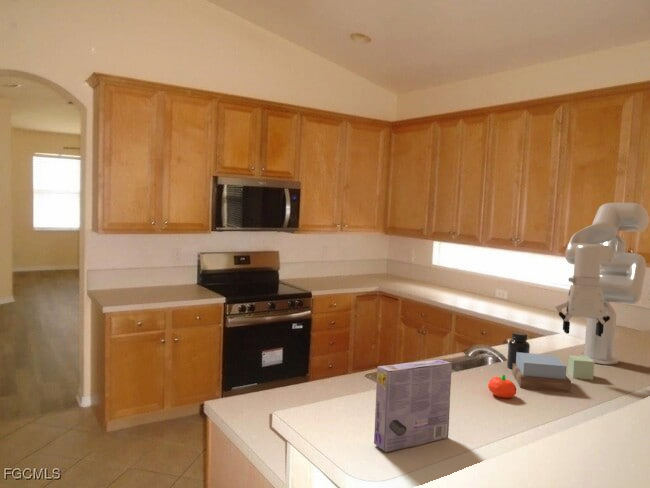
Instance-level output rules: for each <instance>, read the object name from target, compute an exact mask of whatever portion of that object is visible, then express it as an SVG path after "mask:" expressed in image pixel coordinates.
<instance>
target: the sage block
mask: <svg viewBox="0 0 650 488" xmlns="http://www.w3.org/2000/svg"><path fill="white" fill-rule="evenodd" d="M594 370H595V363H594V361H593V360H591V359H590V358H589V357H585V356H579V355H569V354H568V363H567V373H568V374H569V375H570V377H571V378H572V377H573V378H572V379H577V378H579V380H580V379H581V380H588V379H590V380H589V381H594V375H595V374H594Z"/></svg>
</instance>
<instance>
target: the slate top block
mask: <svg viewBox="0 0 650 488" xmlns="http://www.w3.org/2000/svg"><path fill="white" fill-rule="evenodd" d="M516 365H517V367H518V368H519V370H520V371H521V373H522V374H523V376H533V377H544V378H555V379H566V376H567V368H568V365H566V364H565V363H564V362H563V361H562V360H561V359H560V358H559V357H558V356H557V355H553V354H543V353H541V354H539V353H532V352H531V353H530V352H529V353H520V352H517V353H516Z"/></svg>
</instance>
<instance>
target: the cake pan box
mask: <svg viewBox="0 0 650 488" xmlns="http://www.w3.org/2000/svg"><path fill="white" fill-rule="evenodd" d="M452 366H453V365H452V362H450V361H447V360H442V359H431V360H425V361H415V362H406V363H405V362H403V363H397V364H396V363H395V364H388V365H379V366H377V367H376V388H375V389H376V390H375V410H374V411H375V413H374V416H375V417H374V433H373V434H374V437H373V443H374V445H375V446H377V447H378V448H379V449H380V450H381V451H383V452H384V453H385V454H386V453H390V452H393V451H398V450H402V449H406V448H414V447H418V446H422V445H426V444H428V443H431V442H435V441H440V440H444V439H449V431H450V430H449V429H450V428H449V427H450V407H451V405H450V404H451V385H452V372H453V371H452V368H453V367H452Z"/></svg>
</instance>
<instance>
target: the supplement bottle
mask: <svg viewBox="0 0 650 488" xmlns="http://www.w3.org/2000/svg"><path fill="white" fill-rule="evenodd" d="M511 333H512V334H511V338H512V339H510V340H509V341H508V345H507V346H508V347H507V360H506V362H507V363H506V366H507V367H508V368H509V369H511V370H512V367H513V363H516V353H517V352H520V353H530V349H531V347H530V343H529V342H528V341H527V340H528V334H527V333H525V332H519V331H513V332H511Z"/></svg>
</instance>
